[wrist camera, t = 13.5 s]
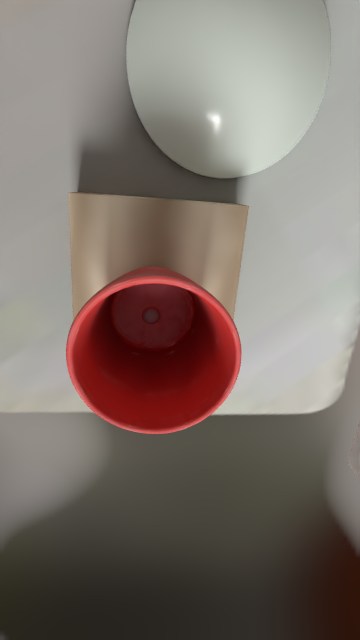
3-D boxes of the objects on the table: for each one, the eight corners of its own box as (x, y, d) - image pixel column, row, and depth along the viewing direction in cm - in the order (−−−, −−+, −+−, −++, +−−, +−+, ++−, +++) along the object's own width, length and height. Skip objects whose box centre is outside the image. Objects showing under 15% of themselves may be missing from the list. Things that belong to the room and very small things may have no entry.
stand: (82, 340, 34) (74, 359, 31) (77, 191, 29) (68, 192, 26) (218, 343, 36) (227, 361, 32) (236, 203, 31) (248, 206, 27)
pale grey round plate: (125, 170, 29) (124, 169, 28) (128, -84, 24) (128, -94, 23) (302, 185, 31) (307, 185, 30) (346, -46, 26) (353, -54, 25)
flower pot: (107, 376, 32) (93, 451, 23) (73, 260, 28) (40, 295, 19) (219, 353, 32) (250, 418, 23) (202, 235, 28) (231, 258, 19)
